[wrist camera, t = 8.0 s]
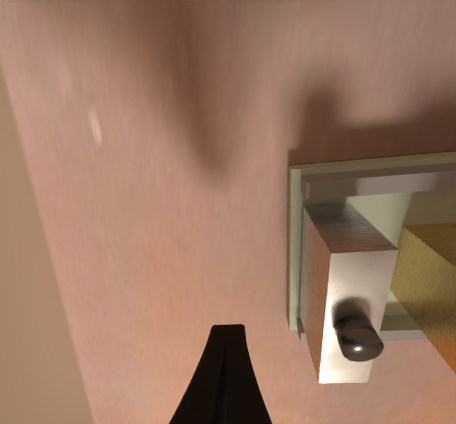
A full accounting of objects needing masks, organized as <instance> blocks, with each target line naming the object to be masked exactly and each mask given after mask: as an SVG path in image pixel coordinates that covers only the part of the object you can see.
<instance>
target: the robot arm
mask: <svg viewBox="0 0 456 424" xmlns="http://www.w3.org/2000/svg"><path fill="white" fill-rule="evenodd" d="M169 424H272V422H271V419H270V417H269V414H268V412H267V409H266V406H265V404H264V401H263V398H262V395H261V392H260V390H259V387H258V384H257V381H256V377H255V374H254V371H253V367H252V364H251V360H250V357H249V352H248V348H247V343H246V335H245V326H244V325H242V324H233V325H214V326H212V328H211V331H210V335H209V338H208V341H207V344H206V346H205V349H204V351H203V354H202V357H201V359H200V361H199V364H198V366H197V368H196V371H195V373H194V375H193V377H192V380H191V382H190V384H189V386H188V388H187V390H186V392H185V394H184V396H183V398H182V400H181V402H180V404H179V406H178V408H177V410H176V412H175V413H174V415H173V417H172V419H171V421H170V423H169Z"/></svg>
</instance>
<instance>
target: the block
mask: <svg viewBox="0 0 456 424" xmlns="http://www.w3.org/2000/svg"><path fill="white" fill-rule="evenodd" d="M397 249H398V250H399V251H398V255H397V260H396V264H395V268H394V272H393V277H392V281H391V285H390V289H389V290H390V291H391V292H392V293H393V295H394V296H395V297H396V298H397V300H398V301H399V302H400V304H401V305H402V306H403V307H404V309H405V310H406V311H407V313H408V314H409V315H410V316H411V318H412V319H413V320H414V321H415V323H416V324H417V325H418V327H419V328H420V329H421V330H422V332H423V333H424V334H425V335H426V337H427V338H428V339H429V341H430V342H431V343H432V344H433V346H434V347H435V348H436V350H437V351H438V352H439V353H440V355H441V356H442V357H443V358H444V360H445V361H446V362H447V364H448V365H449V366H450V367H451V369H452V370H453V371H454V372H455V374H456V223H440V224H424V225H408V226H402V229H401V233H400V238H399V242H398V246H397Z"/></svg>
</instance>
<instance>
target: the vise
mask: <svg viewBox="0 0 456 424" xmlns="http://www.w3.org/2000/svg"><path fill="white" fill-rule="evenodd" d="M342 203H350V204H351V205H352V206H353V207H354V208H355V209H356V210H357V211H358V212H359V213H360V214H362V215H363V216H364V217H365V218H366V219H367V220H368V221H369V222H370V223H371V224H372V225H373V226H374V227H375V228H376V229H377V230H378V231H379V232H380V233H381V234H383V235H384V236H385V237H386V238H387V239H388V240H389V241H390V242H391V243H392V244H393V245H394V246H395V247H396V248H397V246H398V242H399V238H400V233H401V229H402V226H408V225H424V224H440V223H456V151H454V152H442V153H430V154H419V155H407V156H395V157H384V158H372V159H360V160H349V161H337V162H326V163H314V164H302V165H291V166H288V325H289V330H290V331H298V334H299V338H300V342H307V339H306V335H305V332H304V328H303V324H302V321H301V317H300V288H301V258H302V229H303V206H314V205H328V204H342ZM379 337H380V339H381V340H423V339H428V338H427V337H426V335H425V334H424V333H423V332H422V330H421V329H420V328H419V327H418V325H417V324H416V323H415V321H414V320H413V319H412V318H411V316H410V315H409V314H408V313H407V311H406V310H405V309H404V307H403V306H402V305H401V304H400V302H399V301H398V300H397V298H396V297H395V296H394V295H393V293H392V292H391V291H390V290H389V294H388V298H387V302H386V306H385V311H384V315H383V319H382V323H381V327H380V332H379Z"/></svg>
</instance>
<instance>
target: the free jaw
mask: <svg viewBox="0 0 456 424" xmlns="http://www.w3.org/2000/svg"><path fill="white" fill-rule="evenodd" d="M398 251H399V250H398V249H397V248H396V247H395V246H394V245H393V244H392V243H391V242H390V241H389V240H388V239H387V238H386V237H385V236H384V235H383V234H381V233H380V232H379V231H378V230H377V229H376V228H375V227H374V226H373V225H372V224H371V223H370V222H369V221H368V220H367V219H366V218H365V217H364V216H363V215H362V214H360V213H359V212H358V211H357V210H356V209H355V208H354V207H353V206H352V205H351V204H350V203H342V204H328V205H314V206H303V229H302V258H301V288H300V317H301V321H302V324H303V328H304V332H305V335H306V339H307V342H308V346H309V350H310V353H311V357H312V361H313V364H314V368H315V371H316V375H317V379H318V382H319V383H368V378H369V374H370V370H371V366H372V361H373V359H374V358H376V357H377V356H379V355H380V354H381V353H382V351H383V348H384V345H383V343H382V341H381V339H380V337H379V332H380V327H381V323H382V319H383V315H384V311H385V306H386V302H387V298H388V294H389V289H390V285H391V281H392V277H393V272H394V268H395V264H396V260H397V255H398Z"/></svg>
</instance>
